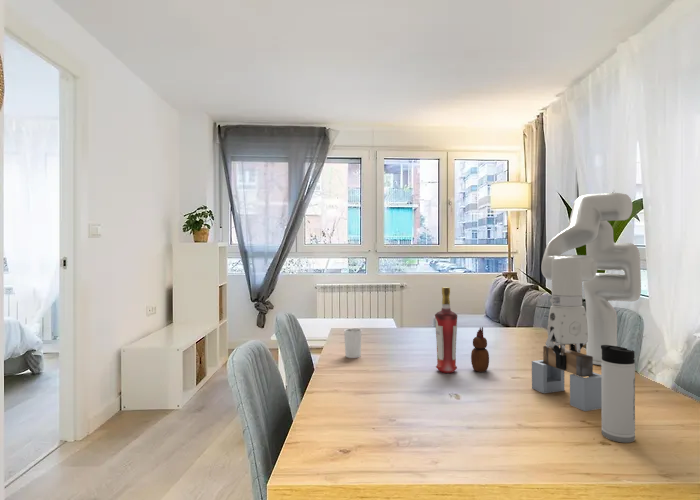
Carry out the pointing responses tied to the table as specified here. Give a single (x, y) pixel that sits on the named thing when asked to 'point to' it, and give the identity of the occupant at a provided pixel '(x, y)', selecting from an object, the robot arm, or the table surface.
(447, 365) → the liquor
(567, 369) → the rail
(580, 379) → the post
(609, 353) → the travel mug
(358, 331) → the drinking glass
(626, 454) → the table surface
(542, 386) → the post
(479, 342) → the wooden figurine
